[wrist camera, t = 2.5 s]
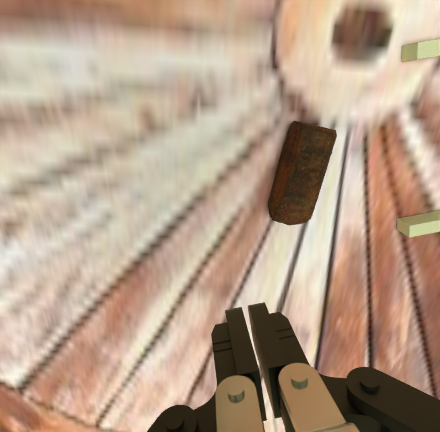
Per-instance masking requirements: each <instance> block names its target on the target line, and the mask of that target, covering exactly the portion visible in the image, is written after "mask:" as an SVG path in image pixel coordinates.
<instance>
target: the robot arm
mask: <svg viewBox="0 0 440 432" xmlns="http://www.w3.org/2000/svg"><path fill="white" fill-rule="evenodd" d="M248 311H249V318H250V324H251V331H252V337H253V342H254V346H255V350H256V354H257V357H258V361H259V364H260V368H261V371H262V375H263V378H264V382H265V385H266V389H267V392H268V396H269V399H270V403H271V406H272V410H273V413H274V417H275V418H279V417H282V420H283V423H284V426H285V432H440V400H439V399H437V398H435V397H433V396H430V395H428V394H426V393H424V392H422V391H420V390H418V389H416V388H414V387H412V386H410V385H408V384H406V383H404V382H402V381H399V380H397V379H395V378H393V377H391V376H389V375H387V374H385V373H383V372H381V371H379V370H376V369H374V368H369V367H359V368H356V369H353V370H352V371H350V372H349V374H348V375H347V378H334V377H328V376H324V375H322V374H320V373H318V372H317V371H316V370H315V369H314V368H313V367H311V366H310V365H309V363H308V361H307V359H306V357H305V354H304V352H303V350H302V348H301V346H300V344H299V342H298V339H297V337H296V336H295V333H294V331H293V329H292V327H291V325H290V322H289V320H288V318H286V317H285V316H284V315H283V314H281V313H280V312H276V313H271V314H269V312H268V309H267V307H266V304H265V303H259V304H254V305H249V306H248ZM225 313H226V318H227V323H222V324H217V325H215V326H214V329H213V331H212V334H211V336H212V344H213V352H214V361H215V369H216V378H217V389H216V391H215V393H214V395H213V397H212V398H211V399H210V400H209V401H208V402H207V403H205V404H204V405H202V406H200V407H198V408H197V409H195V410H193V409H192V408H190V407H188V406H186V405H175V406H172V407H170V408H168V409H166V410H165V411H163V412H162V413H161V414H160V415H159V417H158V418H157V419H156V420H155V422H154V423H153V424H152V426H151V427H150V428H149V430H148V431H147V432H265V430H264V423H263V421H266V420H267V419H266V412H265V406H264V399H263V393H262V386H261V379H260V373H259V368H258V365H257V361H256V357H255V354H254V350H253V347H252V343H251V339H250V336H249V332H248V329H247V325H246V321H245V318H244V314H243V311H242V307H239V308H234V309H229V310H225Z"/></svg>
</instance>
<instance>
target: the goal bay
mask: <svg viewBox="0 0 440 432" xmlns="http://www.w3.org/2000/svg"><path fill="white" fill-rule="evenodd" d="M434 56H440V39H436V40H430V41H424V42H418V43H414V44H409V45H405V46H402V62H403V61H409V60H416V59H422V58H428V57H434ZM397 230H398V231H400V232H402V233H403V234H405V235H406V236H408V237H414V236H419V235H424V234H429V233H434V232H439V231H440V210H439V211H434V212H428V213H423V214H418V215H413V216H408V217H402V218H397Z"/></svg>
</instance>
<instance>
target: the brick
mask: <svg viewBox="0 0 440 432" xmlns="http://www.w3.org/2000/svg"><path fill="white" fill-rule="evenodd" d="M336 137H337V134H336V130H332V129H328V128H324V127H320V126H316V125H311V124H307V123H302V122H297V121H294V122H293V124H292V125H291V127H290V128H289V131H288V135H287V139H286V142H285V145H284V148H283V150H282V154H281V158H280V161H279V165H278V169H277V172H276V176H275V180H274V184H273V187H272V191H271V195H270V199H269V202H268V207H269V215H270V217H271V218H272V220H274V221H277V222H280V223H284V224H287V225H295V224H302V223H304V222H307V221H308V220H310V219H311V216H312V214H313V211H314V208H315V205H316V202H317V199H318V195H319V192H320V189H321V186H322V182H323V179H324V176H325V173H326V170H327V166H328V163H329V160H330V156H331V154H332V150H333V146H334V143H335V140H336Z"/></svg>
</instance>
